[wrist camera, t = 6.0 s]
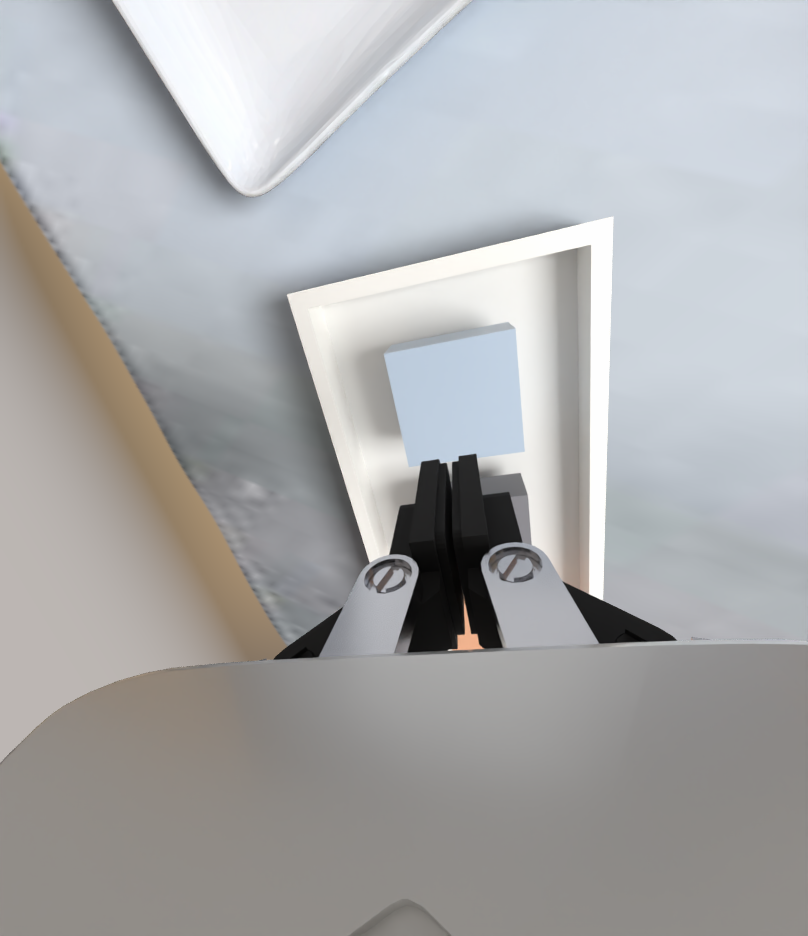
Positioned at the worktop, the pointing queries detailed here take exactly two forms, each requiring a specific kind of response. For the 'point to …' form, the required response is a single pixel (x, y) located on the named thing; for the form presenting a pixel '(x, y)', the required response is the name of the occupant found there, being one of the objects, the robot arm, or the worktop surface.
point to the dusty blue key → (458, 394)
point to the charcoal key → (518, 497)
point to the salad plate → (276, 70)
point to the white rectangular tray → (540, 375)
